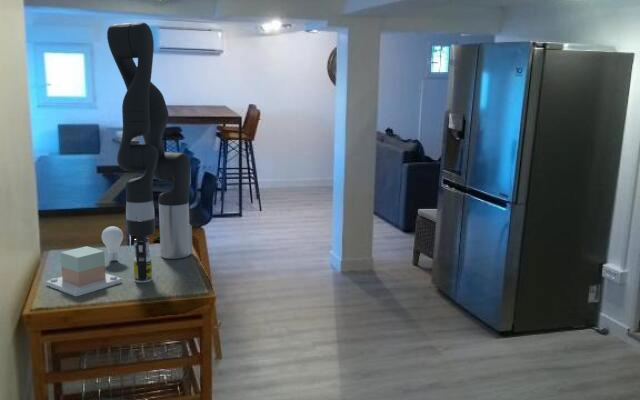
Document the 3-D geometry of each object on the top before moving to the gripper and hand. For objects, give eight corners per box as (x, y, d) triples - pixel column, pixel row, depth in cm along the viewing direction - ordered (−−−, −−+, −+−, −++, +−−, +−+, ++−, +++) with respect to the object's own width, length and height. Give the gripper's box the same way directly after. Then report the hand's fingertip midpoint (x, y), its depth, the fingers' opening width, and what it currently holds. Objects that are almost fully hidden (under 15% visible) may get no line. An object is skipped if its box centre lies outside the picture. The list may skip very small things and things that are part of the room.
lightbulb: (121, 257, 191) (120, 223, 189) (126, 262, 186) (125, 227, 184) (100, 259, 188) (99, 225, 186) (105, 265, 182) (103, 229, 180)
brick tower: (91, 272, 175) (90, 242, 173) (121, 282, 167) (120, 250, 165) (46, 285, 164) (43, 252, 162) (76, 296, 156) (73, 262, 154)
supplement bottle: (147, 283, 167) (145, 254, 165) (131, 282, 168) (130, 253, 166) (155, 278, 171) (154, 249, 170) (139, 277, 172) (138, 248, 171)
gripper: (127, 211, 172) (130, 268, 175) (124, 223, 158) (127, 283, 161) (155, 210, 174) (157, 266, 177) (154, 221, 160) (156, 282, 163)
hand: (143, 274), depth 169 cm, fingers open, 6 cm apart
